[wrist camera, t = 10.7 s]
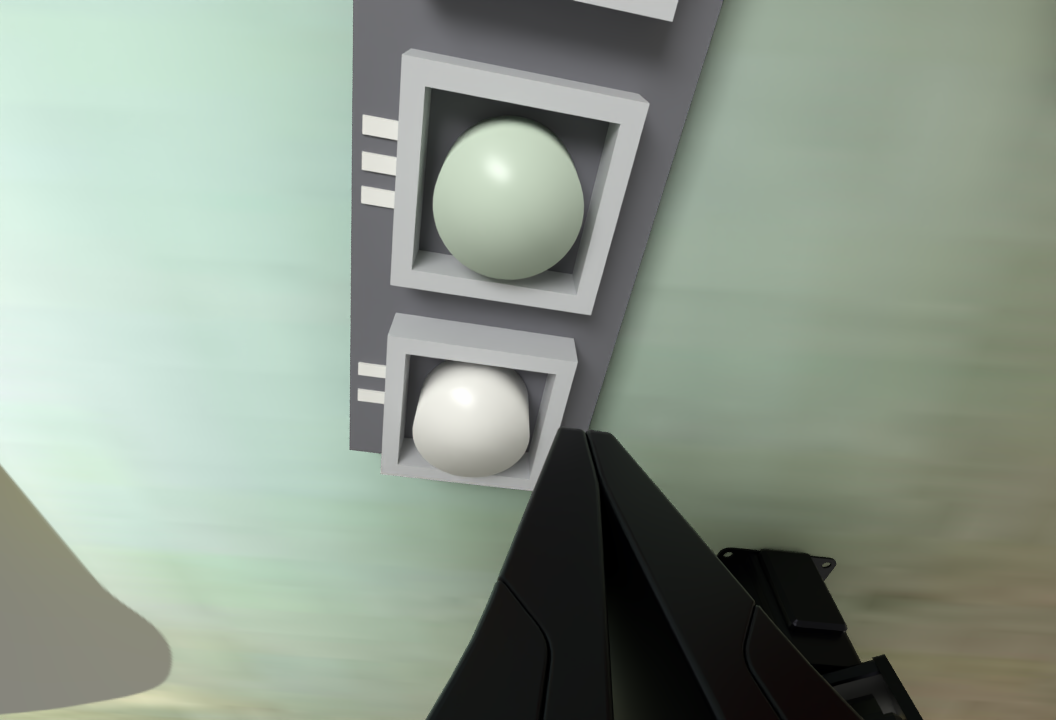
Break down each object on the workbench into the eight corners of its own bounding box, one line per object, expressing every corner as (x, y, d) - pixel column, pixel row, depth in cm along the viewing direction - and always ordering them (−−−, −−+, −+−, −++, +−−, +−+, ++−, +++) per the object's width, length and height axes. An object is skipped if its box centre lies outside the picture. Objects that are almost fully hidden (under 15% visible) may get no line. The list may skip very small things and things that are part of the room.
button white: (518, 446, 22) (518, 483, 21) (416, 433, 22) (409, 470, 20) (537, 363, 20) (539, 397, 18) (425, 347, 20) (416, 381, 18)
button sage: (560, 261, 18) (565, 289, 16) (435, 240, 17) (427, 268, 16) (591, 130, 16) (600, 147, 14) (448, 102, 15) (440, 117, 14)
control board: (570, 451, 25) (576, 503, 22) (358, 425, 24) (339, 477, 21) (802, -319, 12) (874, -394, 10) (374, -446, 11) (335, -569, 9)
